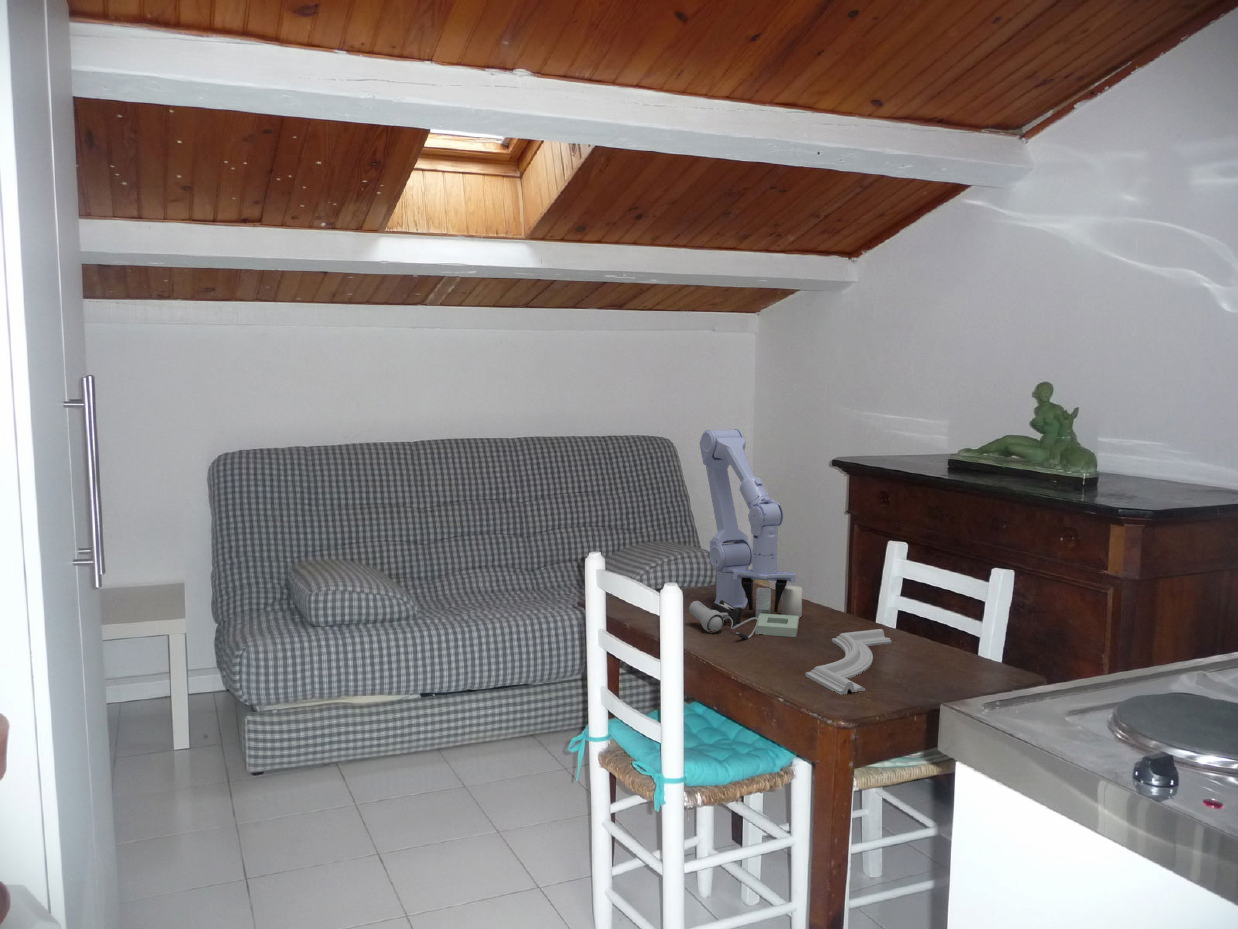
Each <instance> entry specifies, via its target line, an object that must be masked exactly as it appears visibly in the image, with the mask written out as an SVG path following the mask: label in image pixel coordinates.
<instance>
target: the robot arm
mask: <svg viewBox="0 0 1238 929" xmlns="http://www.w3.org/2000/svg"><path fill="white" fill-rule="evenodd" d="M746 444H747V442H746V439H745V437H744V434H743V432H742V431H741V430H740V428H735V429H713V430H712V429H706V430H704V432H703V433H702V435H701V438H700V441H699V449H700V454H701V459H702V463H703V465H705V468H706V475H707V479H708V486H709V492H710V496H711V502H712V508H713V514H714V519H715V525H716V530H717V533H715V535H714V536H713V537H712V538H711V539H710V541H709V560H710V563H711V565H712V567H713V569H714V570H716V595H715V596H716V597H715V601H714V602H713V603H718V604H719V602H720V601H721V600H723V601H725V602H726V603H728V604H730V605H731V606H733V607H734V608H736V609H738V608H739V607H741V608H742V609H743V610H744V609H746V608H747V604H748V610H749V611H753V609H754V602H753V600H754V598H753V594H754V593H753V590H754V588H753V586H754V580H756V581H770V582H771V581H773V582H775V583H774V585H775V586H774V587H775V588H774V591H775V592H774V595H775V596H774V598H775V599H774V605H773V606H774V607H773V611H774V612H775V613H778V611H779V604H780V599H782V593H783V591H784V589H785V587H786V586H787V583H788V582H790V583H796V579H797V578H796V577H797V576H796V574H797V573H796V572H788V571H782V570H778V569H777V568H778V567H777V566H778V532H779V531H778V529H779V527H780V526H781V525H782V523H783V520H784V512H783V511H784V510H783V508H782V505H781V504H780V503H779V502H777V501H775V499H773V498H771V496H770V494H769V492H768V490H767V488H766V487H765V484H764V482H763V480H762V479H761V478H760V477H757V476H755V475H754V472H753V470H752V467H751V465H750V462H749V460H748V456H747V454H746V451H745V449H746ZM730 466H731V468H732V470H733V472H734V473H735V475H736V476H737V478H738V480H739V481H740V482H741V483H740V486H739V492H740V493H741V495H742V497H743V500H744V502H745V503H746V506H747V507H748V510H749V513H748V516H747V517H748V518H747V519H748V522H749V525H750V532H751V535H752V546H751V543H750V541H749V536H748V535H747V534H746V533H745V532H743V531H741V529H739V525H738V521H737V516H736V515H737V514H736V509H735V504H734V503H735V502H734V498H733V492H732V488H731V486H732V485H731V482H730V476H729V471H728V470H729V469H728V468H729V467H730ZM750 566H751V567H752V569H749V567H750Z"/></svg>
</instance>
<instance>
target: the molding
mask: <svg viewBox="0 0 1238 929" xmlns="http://www.w3.org/2000/svg"><path fill="white" fill-rule="evenodd" d="M831 642H832V643H833V644H835V645H837V647H840V649H842V651H843V652H844V658H841V659H839V660H836V661H834V662H831V663H830V662H829V663H827V664H822V665H817V666H815V667H814V668H813V669H811V670H810V671H807V672H805V677H806V678H808V679H810V680H812V681H813V682H815V683H817V684H819V685H821V686H822V687H824V688H826V689H828V690H830V691H832V692H833V691H835V692H836V693H835V692H834V693H835V694H837V693H838V694H837V695H839V694H840V695H839V696H843V694H844V695H848V691H849V692H850V693H853V692H857V691H865V692H866V688H865V687H863V686H862V685H859V684H857V683H855V682H854V681H851V680H850V679H851V678H854V677H857V676H859V675H860V674H862V672H863V671H864V672H866V671H867V670H868V669H869V668H870V667H871V666H872V664H873V661H874V655H873V652H872V650H871V648H870V647H871V646H881V645H888V644H892V640H891V637H887V636H885V631H884V630H883V629H882V628H879V629H877V628H876V629H869V630H859V631H852V632H851V631H850V632H842V633H839V635H838V636H836V637H835V638H831ZM864 672H863V673H864ZM858 674H859V675H858ZM856 675H857V676H856ZM848 678H849V679H848Z"/></svg>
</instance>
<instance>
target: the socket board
mask: <svg viewBox="0 0 1238 929" xmlns="http://www.w3.org/2000/svg"><path fill="white" fill-rule="evenodd" d="M758 619H759V623H758V626H757V628H756V630H755V632H754V633H755V635H759V634H763V636H777V637H787V638H788V637H789V638H790V637H791V638H797V635H798V629H799V625H800V624H799V619H800V618H799V616H792V615H781V614H777V613H770V614H763V613H760V614H759V617H758ZM756 624H757V622H756V623H755V625H756Z"/></svg>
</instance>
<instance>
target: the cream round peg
mask: <svg viewBox="0 0 1238 929" xmlns="http://www.w3.org/2000/svg"><path fill="white" fill-rule="evenodd" d="M780 608H781V611H780V615H792V616H799V619H801V618H802V617H801V616H802V614H803V613H802V611H803V609H802V608H803V587H802V586H800V585H791V584H790V585H789V584H788V585H787V584H786V587H785V589H784V591H783V593H782V595H781V606H780ZM800 617H801V618H800Z"/></svg>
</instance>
